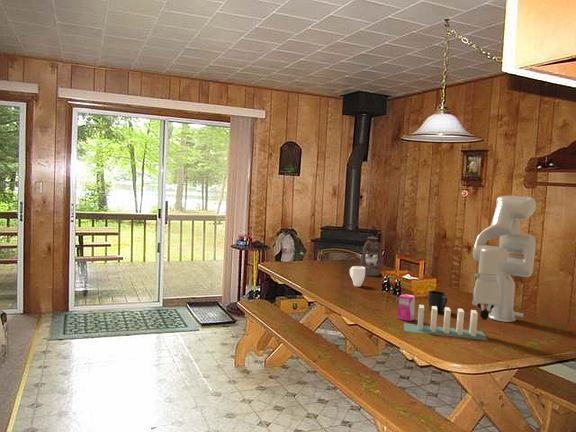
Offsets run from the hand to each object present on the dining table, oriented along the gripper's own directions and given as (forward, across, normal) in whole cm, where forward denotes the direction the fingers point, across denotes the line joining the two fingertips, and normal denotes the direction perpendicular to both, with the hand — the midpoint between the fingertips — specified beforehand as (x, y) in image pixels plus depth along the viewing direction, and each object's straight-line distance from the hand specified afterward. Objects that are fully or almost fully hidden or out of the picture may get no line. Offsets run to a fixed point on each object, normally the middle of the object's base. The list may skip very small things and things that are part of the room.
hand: (484, 319), depth 211 cm
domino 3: (+7, -15, 0) cm, 17 cm away
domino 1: (+7, -26, 0) cm, 27 cm away
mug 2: (+8, -60, +79) cm, 99 cm away
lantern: (+8, -53, +117) cm, 128 cm away
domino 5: (+7, -4, 0) cm, 8 cm away
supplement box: (+8, -32, +13) cm, 36 cm away
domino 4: (+7, -10, 0) cm, 12 cm away
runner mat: (+8, -16, 0) cm, 18 cm away
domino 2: (+7, -21, 0) cm, 22 cm away
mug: (+8, -16, +33) cm, 38 cm away
